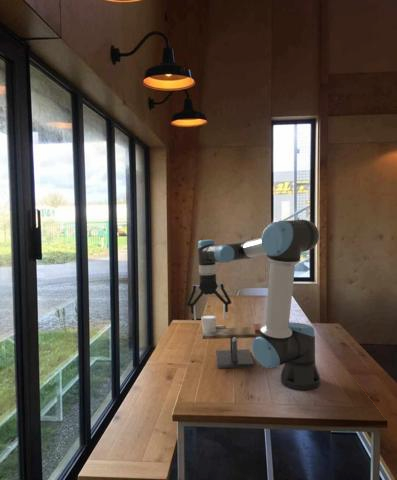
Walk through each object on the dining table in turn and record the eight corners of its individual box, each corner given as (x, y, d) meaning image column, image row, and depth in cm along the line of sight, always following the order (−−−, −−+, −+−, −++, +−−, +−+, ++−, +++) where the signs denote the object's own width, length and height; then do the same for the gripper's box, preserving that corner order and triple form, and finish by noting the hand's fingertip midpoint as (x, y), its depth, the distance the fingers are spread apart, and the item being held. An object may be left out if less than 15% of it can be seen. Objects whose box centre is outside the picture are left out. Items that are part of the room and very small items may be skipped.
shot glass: (207, 328, 185) (207, 314, 184) (219, 331, 181) (219, 316, 180) (198, 332, 180) (198, 317, 179) (210, 335, 175) (210, 319, 175)
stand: (249, 352, 190) (248, 325, 189) (254, 366, 172) (253, 337, 171) (216, 353, 190) (214, 327, 189) (217, 368, 172) (216, 339, 171)
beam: (261, 332, 185) (261, 323, 185) (265, 339, 174) (265, 330, 174) (202, 334, 186) (202, 324, 185) (202, 341, 175) (202, 331, 174)
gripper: (234, 271, 182) (236, 316, 183) (180, 274, 182) (183, 319, 183) (235, 273, 174) (237, 320, 176) (179, 276, 175) (182, 323, 176)
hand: (209, 319), depth 179 cm, fingers open, 13 cm apart
